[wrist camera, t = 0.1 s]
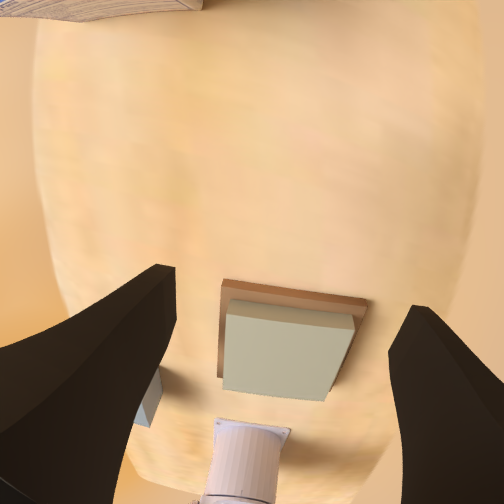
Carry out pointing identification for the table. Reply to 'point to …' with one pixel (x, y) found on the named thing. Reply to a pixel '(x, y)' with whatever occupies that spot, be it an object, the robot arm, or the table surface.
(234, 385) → the tower top
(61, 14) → the medicine box
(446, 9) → the table surface
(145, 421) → the cube
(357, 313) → the tower base
